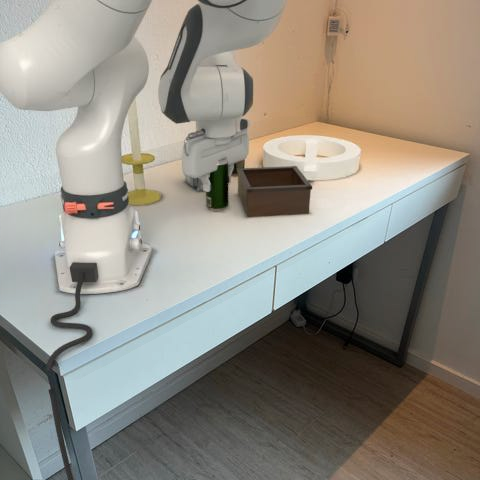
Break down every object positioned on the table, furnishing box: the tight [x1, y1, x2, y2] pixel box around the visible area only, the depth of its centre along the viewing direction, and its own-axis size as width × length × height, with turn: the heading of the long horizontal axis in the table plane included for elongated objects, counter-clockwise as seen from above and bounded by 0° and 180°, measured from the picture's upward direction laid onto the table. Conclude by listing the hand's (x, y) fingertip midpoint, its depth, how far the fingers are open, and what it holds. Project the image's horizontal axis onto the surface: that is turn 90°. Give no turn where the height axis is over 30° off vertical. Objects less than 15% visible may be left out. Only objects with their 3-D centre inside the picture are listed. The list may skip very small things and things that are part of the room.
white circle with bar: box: [262, 134, 362, 181], centre depth 152 cm, size 28×28×5 cm
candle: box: [122, 97, 162, 206], centre depth 123 cm, size 10×10×27 cm
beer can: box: [205, 157, 229, 212], centre depth 122 cm, size 5×5×12 cm
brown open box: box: [237, 166, 313, 218], centre depth 125 cm, size 15×15×7 cm
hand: (217, 186), depth 122 cm, fingers closed on beer can, 5 cm apart
